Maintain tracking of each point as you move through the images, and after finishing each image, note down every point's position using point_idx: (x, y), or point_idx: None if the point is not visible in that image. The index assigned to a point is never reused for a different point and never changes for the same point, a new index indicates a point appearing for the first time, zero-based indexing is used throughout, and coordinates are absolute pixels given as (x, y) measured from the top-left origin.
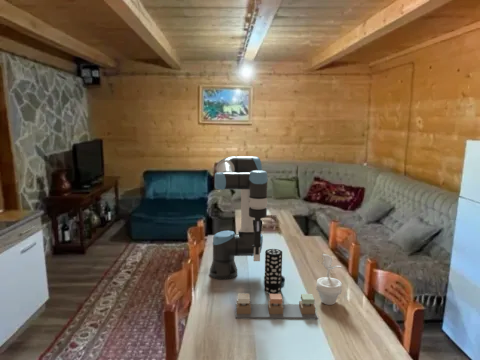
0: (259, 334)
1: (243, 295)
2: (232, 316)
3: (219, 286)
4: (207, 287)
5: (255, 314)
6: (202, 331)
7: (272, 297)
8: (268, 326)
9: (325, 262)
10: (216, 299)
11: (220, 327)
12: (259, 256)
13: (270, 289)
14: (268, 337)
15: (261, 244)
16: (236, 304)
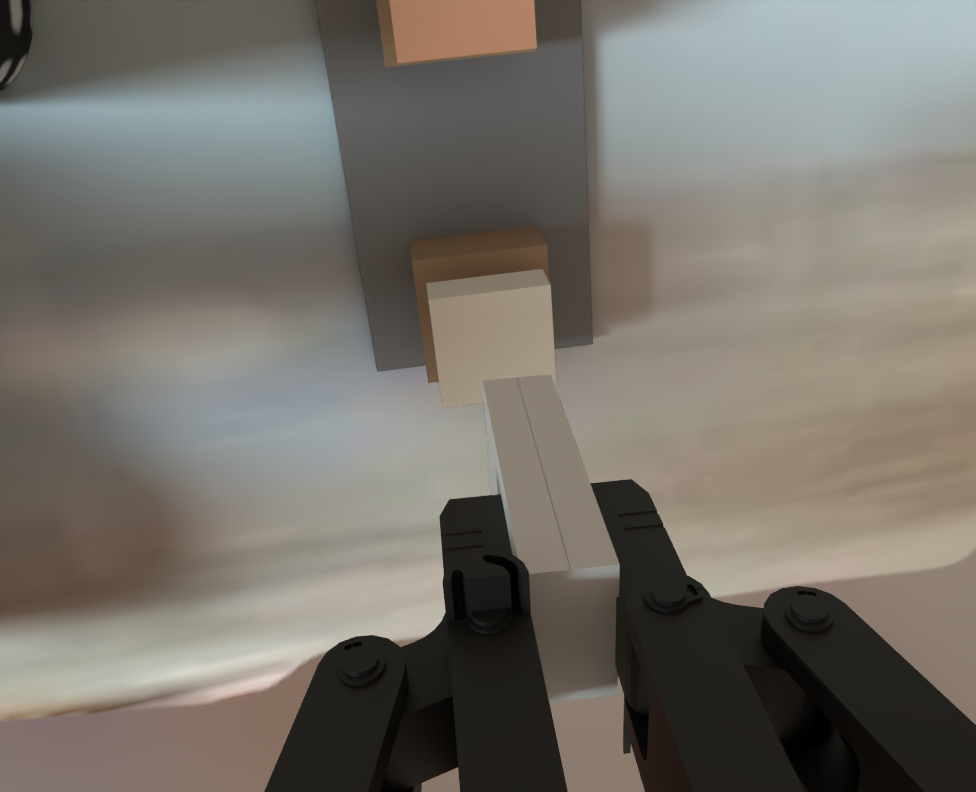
0: (820, 126)
1: (478, 353)
2: (556, 365)
3: (45, 543)
4: (101, 623)
5: (543, 181)
6: (754, 519)
7: (491, 23)
8: (705, 47)
9: None
10: (298, 521)
11: (711, 423)
12: (566, 432)
13: (11, 34)
14: (869, 45)
15: (523, 567)
16: (385, 363)
